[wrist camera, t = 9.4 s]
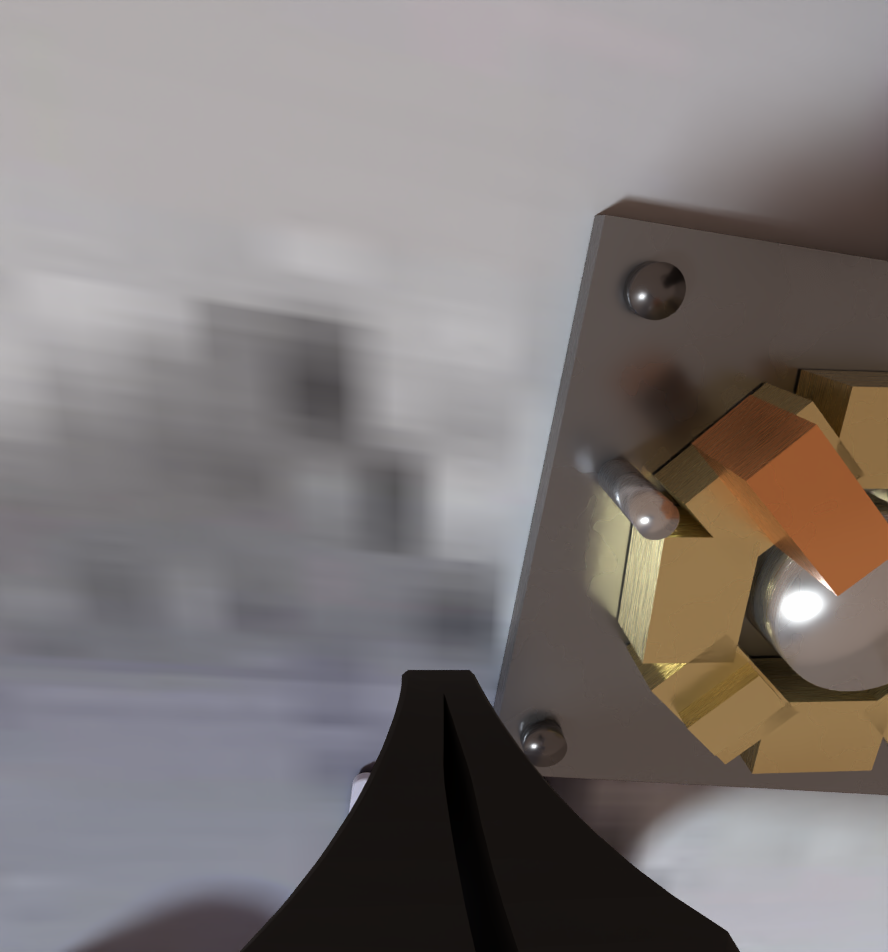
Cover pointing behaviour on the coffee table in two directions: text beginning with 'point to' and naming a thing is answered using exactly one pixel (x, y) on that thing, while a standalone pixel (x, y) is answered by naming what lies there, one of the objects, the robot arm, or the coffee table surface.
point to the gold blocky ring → (733, 565)
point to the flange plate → (654, 510)
